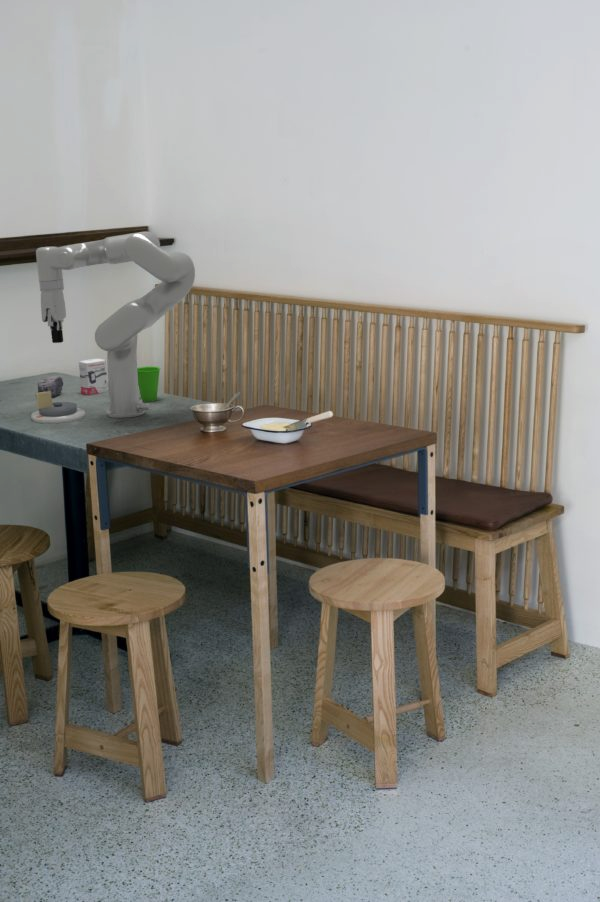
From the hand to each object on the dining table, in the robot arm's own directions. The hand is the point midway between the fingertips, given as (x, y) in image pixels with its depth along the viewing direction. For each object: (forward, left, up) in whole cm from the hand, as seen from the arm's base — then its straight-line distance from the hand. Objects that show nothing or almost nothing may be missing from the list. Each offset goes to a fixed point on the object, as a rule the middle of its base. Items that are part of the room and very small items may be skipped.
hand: (57, 342), depth 358 cm
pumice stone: (+18, -25, -24) cm, 39 cm away
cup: (-21, -23, -24) cm, 39 cm away
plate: (-2, +7, -24) cm, 24 cm away
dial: (-2, +7, -22) cm, 23 cm away
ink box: (+4, -32, -24) cm, 40 cm away
